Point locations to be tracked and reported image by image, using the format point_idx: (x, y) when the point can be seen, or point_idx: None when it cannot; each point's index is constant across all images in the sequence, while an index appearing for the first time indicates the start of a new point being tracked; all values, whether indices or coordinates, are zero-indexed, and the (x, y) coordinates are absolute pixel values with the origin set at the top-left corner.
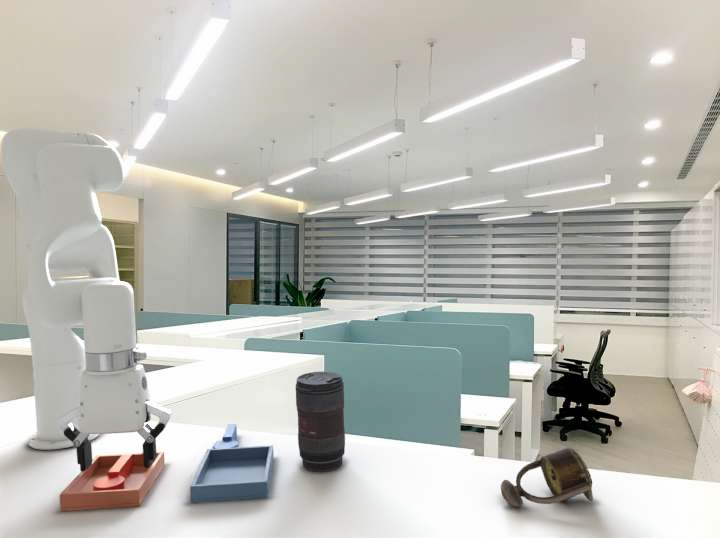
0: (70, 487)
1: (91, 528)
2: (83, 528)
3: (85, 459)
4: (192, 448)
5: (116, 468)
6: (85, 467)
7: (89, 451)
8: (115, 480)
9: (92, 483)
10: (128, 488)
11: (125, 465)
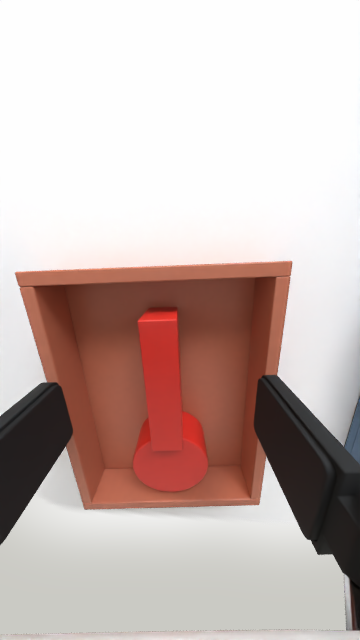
0: (86, 482)
1: (184, 510)
2: (172, 509)
3: (46, 468)
4: (356, 71)
5: (168, 431)
6: (67, 442)
7: (20, 451)
8: (186, 463)
9: (103, 382)
10: (205, 414)
11: (180, 388)
